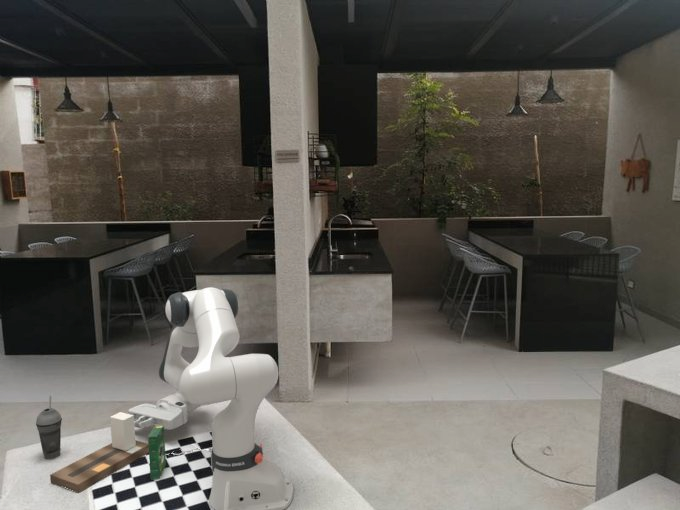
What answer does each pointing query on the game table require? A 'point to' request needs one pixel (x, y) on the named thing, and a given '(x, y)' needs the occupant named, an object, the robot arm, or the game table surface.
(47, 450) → the beverage cup
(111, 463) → the switch board
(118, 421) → the switch tab
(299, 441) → the game table surface
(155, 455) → the coffee box
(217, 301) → the robot arm
